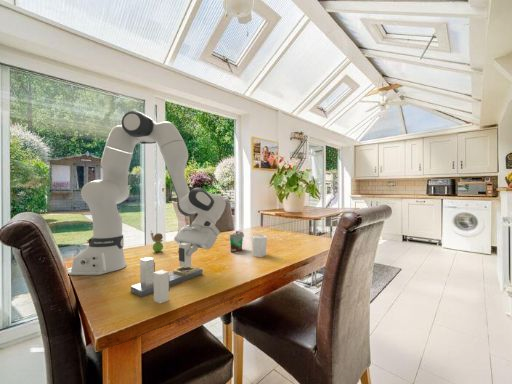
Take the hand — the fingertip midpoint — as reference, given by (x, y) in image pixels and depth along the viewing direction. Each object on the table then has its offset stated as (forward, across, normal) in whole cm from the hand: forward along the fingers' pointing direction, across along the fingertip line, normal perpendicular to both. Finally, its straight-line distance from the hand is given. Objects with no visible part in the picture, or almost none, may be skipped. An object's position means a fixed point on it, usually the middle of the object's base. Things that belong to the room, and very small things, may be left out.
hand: (183, 254), depth 97 cm
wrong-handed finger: (+18, +10, -6) cm, 22 cm away
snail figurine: (-5, -44, +18) cm, 48 cm away
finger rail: (+11, 0, +2) cm, 11 cm away
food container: (-25, -9, +38) cm, 46 cm away
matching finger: (+3, 0, +4) cm, 5 cm away
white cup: (-24, +7, +37) cm, 45 cm away
